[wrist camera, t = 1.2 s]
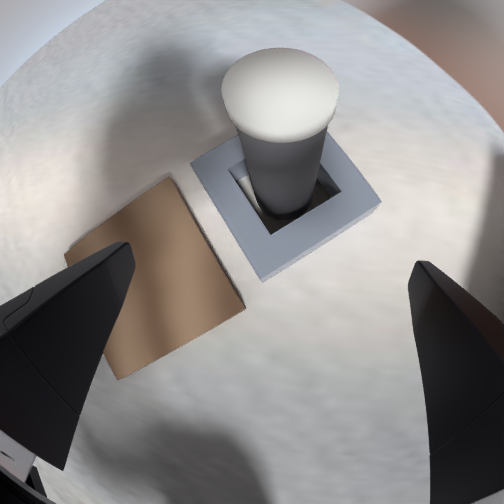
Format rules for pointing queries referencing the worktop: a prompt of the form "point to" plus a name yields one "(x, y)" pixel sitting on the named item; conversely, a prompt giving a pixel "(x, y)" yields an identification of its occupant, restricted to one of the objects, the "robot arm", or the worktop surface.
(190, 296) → the pad
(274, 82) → the plug
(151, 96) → the worktop surface
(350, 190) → the blue-grey square ring
